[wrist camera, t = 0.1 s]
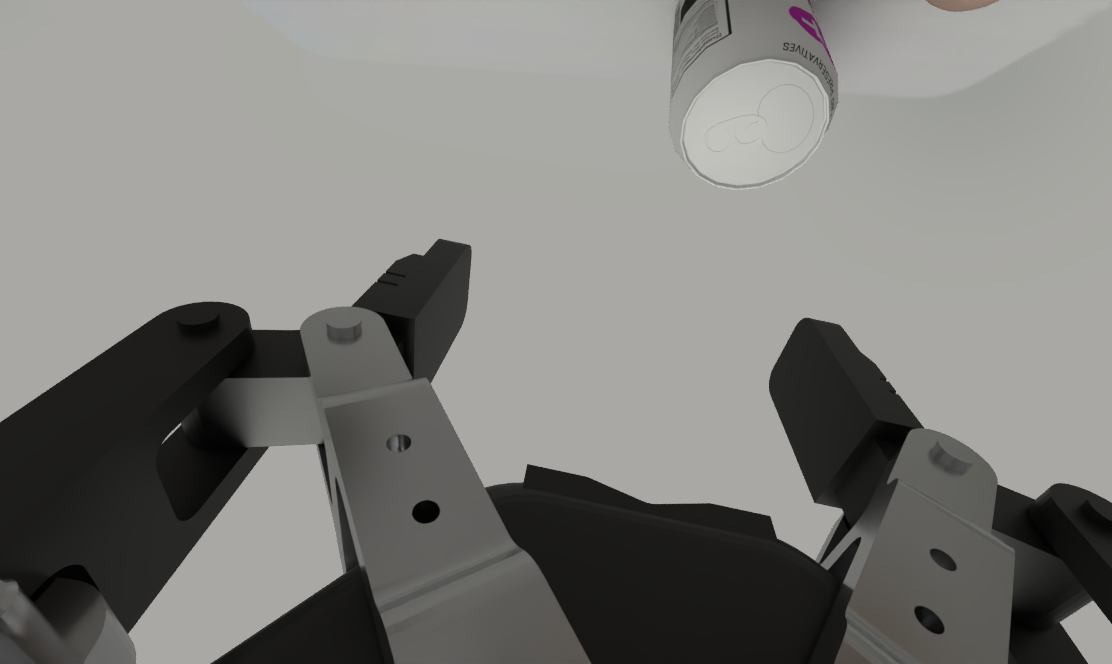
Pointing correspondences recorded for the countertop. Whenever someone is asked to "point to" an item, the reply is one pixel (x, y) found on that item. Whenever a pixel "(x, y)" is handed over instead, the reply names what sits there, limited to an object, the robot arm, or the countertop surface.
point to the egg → (960, 4)
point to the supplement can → (749, 89)
